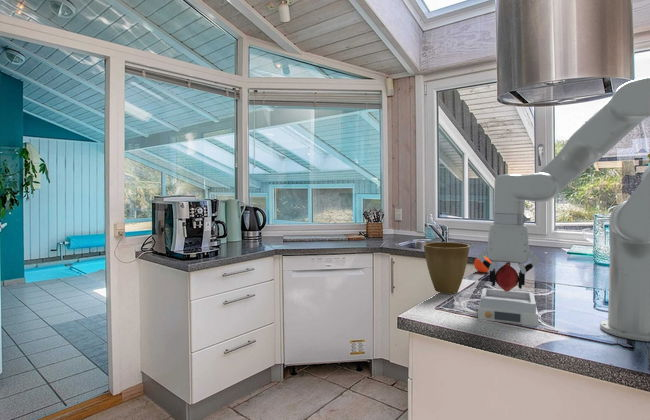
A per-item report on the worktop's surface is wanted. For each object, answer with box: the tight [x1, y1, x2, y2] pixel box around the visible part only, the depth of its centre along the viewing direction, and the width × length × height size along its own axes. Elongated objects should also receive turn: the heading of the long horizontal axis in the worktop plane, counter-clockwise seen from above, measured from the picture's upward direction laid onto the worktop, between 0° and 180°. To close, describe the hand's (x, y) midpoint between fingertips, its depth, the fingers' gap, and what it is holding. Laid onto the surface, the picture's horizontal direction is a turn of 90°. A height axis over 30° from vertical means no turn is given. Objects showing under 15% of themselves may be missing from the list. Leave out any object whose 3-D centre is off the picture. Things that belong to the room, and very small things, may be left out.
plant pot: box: [423, 241, 470, 295], centre depth 134 cm, size 15×15×16 cm
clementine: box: [473, 255, 492, 274], centre depth 168 cm, size 8×7×7 cm
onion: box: [495, 262, 519, 291], centre depth 107 cm, size 6×6×8 cm
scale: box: [477, 287, 539, 327], centre depth 107 cm, size 14×14×5 cm
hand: (506, 285), depth 107 cm, fingers closed on onion, 5 cm apart
